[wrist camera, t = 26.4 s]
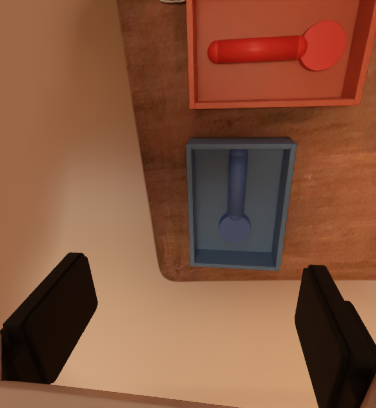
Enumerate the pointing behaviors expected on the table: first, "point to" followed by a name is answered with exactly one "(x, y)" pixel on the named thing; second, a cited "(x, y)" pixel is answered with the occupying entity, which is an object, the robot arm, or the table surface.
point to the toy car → (172, 0)
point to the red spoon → (286, 48)
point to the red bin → (276, 70)
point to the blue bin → (254, 200)
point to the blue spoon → (236, 200)
